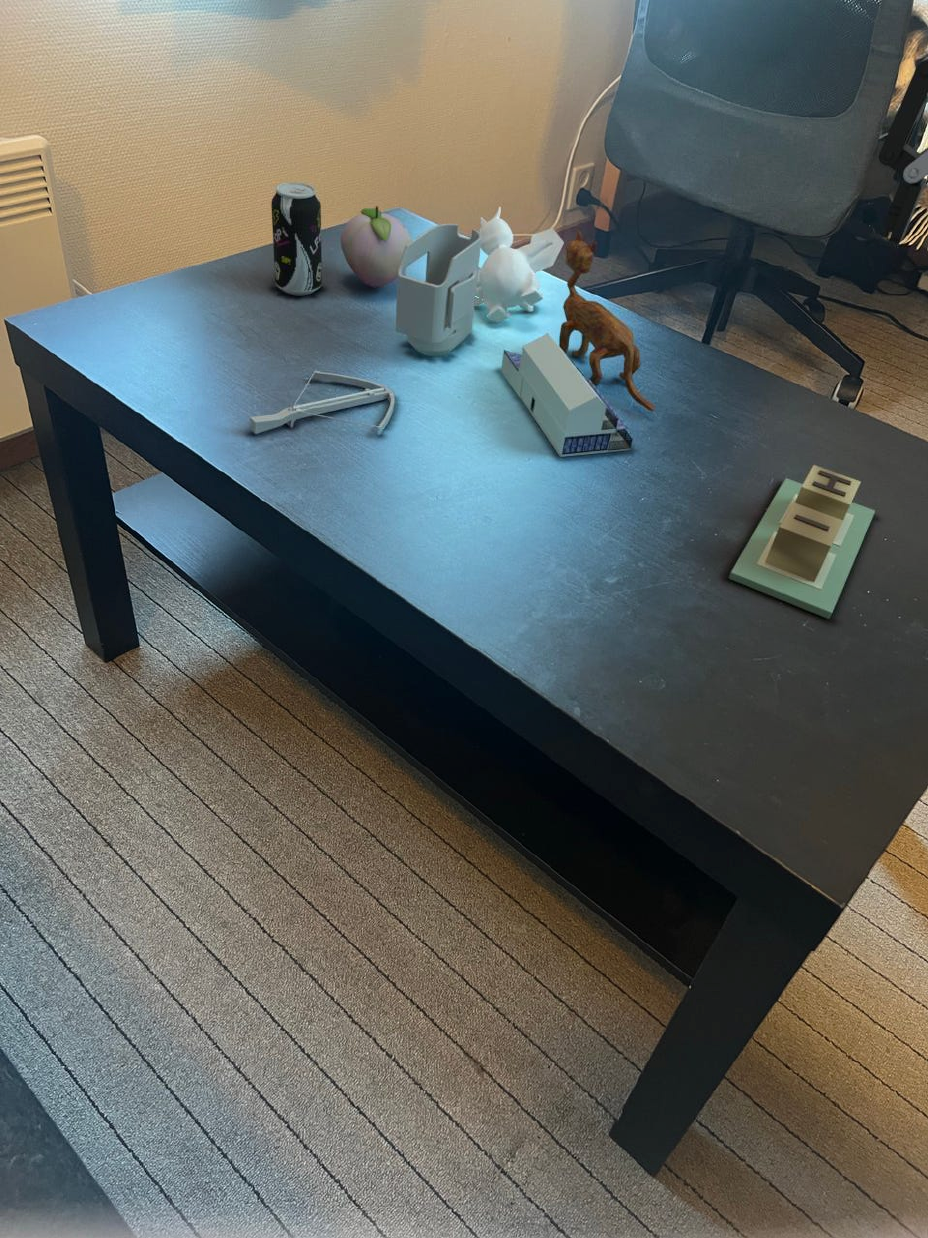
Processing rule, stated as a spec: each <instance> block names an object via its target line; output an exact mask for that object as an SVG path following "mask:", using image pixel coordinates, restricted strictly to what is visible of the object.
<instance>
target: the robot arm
mask: <svg viewBox="0 0 928 1238" xmlns="http://www.w3.org/2000/svg"><path fill="white" fill-rule="evenodd" d="M927 103H928V55H927V56H926V57H925V58H924V59H922V61H920V62H919V63H918V64H917V66H916V67H915V70H914V72H913V74H912V77H911V79H910V81H909V83H908V86H907V88H906V91H905V93H904V95H903V98H902V100H901V102H900V105H899V107H898V109H897V111H896V114H895V116H894V118H893V121H892V123H891V125H890V128H889V130H888V132H887V135H886V137H885V140H884V141H883V144H882V146H881V149H880V151H879V154H878V160H879V162H880V164H881V165H883V166H886V167H889V168H891V169H892V170H893V171H895V172H896V173H897V174H898V177H899V184H898V186H897V188H896V189H897V190H896V193H895V194H894V197H893V200H892V202H891V204H890V205H891V206H890V207H889V210H888V213H887V215H886V218H885V220H884V231H886V232H889V233H891V234H890V237H889V239H888V242H889V243H893V244H897V245H900V244H901V242H902V241H903V239H904V237H905V236H906V233H907V230H908V228H909V226H910V223H911V220H912V218H913V215H914V214H915V211H916V208H917V207H918V203H919V200H920V198H921V196H922V194H923V192H924V189H925V186H926V184H927V182H928V178H925V177H927V176H928V146H927V147H926V148H925V149H923V150H922V151H921V152H919V151H918V150H916V149H915V148H913V147H912V146H911V145H909V143H910V141H911V139H912V136H913V134H914V132H915V129H916V128H917V125H918V123H919V120H920V118H921V116H922V114H923V111H924V110H925V108H926V105H927Z"/></svg>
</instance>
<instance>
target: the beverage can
mask: <svg viewBox="0 0 928 1238" xmlns="http://www.w3.org/2000/svg"><path fill="white" fill-rule="evenodd" d="M270 204H271V208H270V209H271V222H272V223H271V226H272V228H271V229H272V245H273V247H272V248H273V265H274V268H273V269H274V283H275V285H276V287H277V288H279V290H282V291H283V292H284V293H286V294H287V295H292V296H301V297H302V296H308V295H312V294H313V293H314V292H316V291H318V290H319V289H320V288H321V287H322V284H323V280H322V279H323V269H322V268H323V266H322V265H323V264H322V260H323V259H322V204H321V201H320V199H319V198H318V196H317V194H316V188H315V187H314V186H312V185H311V184H309V183H303V182H295V181H293V182H291V181H290V182H283V183H279V184H278V185H276V187H275V194H274V195H273V197H272V199H271V203H270Z"/></svg>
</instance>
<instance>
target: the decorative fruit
mask: <svg viewBox="0 0 928 1238" xmlns="http://www.w3.org/2000/svg"><path fill="white" fill-rule="evenodd" d="M411 241H412V237H411V235H410V232H409V231H408V229H407V228H406V226H405V225H404V224H403V223H402V222H401V221H400V220H399V219H397V218H396V217H394V216H393V215H390V214H387V213H384V212H382V211H381V210H379V206H378V205H375V208H373V207H370V208H368V207H364V208H362V209H361V210H360V213H359V214H357V215H355V216H354V217H352V218H351V219H349V220H348V221H347V223H346V224H345V225H344V227H343V230H342V232H341V234H340V246H341V250H342V254H343V256H344V258H345V261H346V263H347V265H348V267H349V268H350V270H351V271H352V272H353V273H354V275H355V276H356V277H357V278H359V279H360V280H361V281H362V282H363V283H364V284H365V285H367V286H369V287H371V288H373V289H376V288H380V287H384V286H387V285H390V284H392V283H394V282H395V281H397V280H398V269H399V265H400V262H401V258H402V255H403V252H404V248H405V245H406V244H408V243H409V242H411Z"/></svg>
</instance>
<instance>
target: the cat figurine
mask: <svg viewBox="0 0 928 1238" xmlns="http://www.w3.org/2000/svg"><path fill="white" fill-rule="evenodd" d="M597 245H598V241H597V240H595V241H593V242H592V243H590V244H587V243H586V242H584V241H583V236H582V233H581V231H580V230H578V231H577V232H576V237H575V239H574V240H572V241H569V242H568V243H567V244H566V247H565V264H566V266H567V267H568V268H569V269H571V270H572V271H573V274H571V275H570V277H569V278H568V280H567V283H566V286H567V288H568V291H569V295H568V296H567V297H566V299H565V300H564V302H563V306H562V308H563V312H564V316H565V320H566V321H564V322H562V323H561V326H560V331H559V336H558V337H559V338H558V339H559V341H558V345H559V347H560V348H561V349H562V350H563V351H564V352H565V354H566V355H568V352H569V347H570V338H571V335H572V333H573V332H575V331H576V332H579V333H580V334H581V342H580V346H579V348H578V349H577V350H572V351H571V355H572V356H574V357H577V358H579V357H584V356H585V355H586V354H587V353H588V350H589V347H590V344H591V345H592V346H593V348H594V349H593V350H591V351H590V353H589V356H588V365H589V367H590V370H591V373H592V374H591V376H589V377H588V379H587V380H590V381H591V382H592V383H593V385H594V386H595V387H597V386H598V385H599V384H600V383H601V382H602V379H603V374H602V369H601V360H604V359H611V358H615V357H619V356H622V355H623V358H624V360H623V361H624V362H623V371H621V372H619V373H618V376H619V378H620V379H621V380H622V381H624V384H625V387H626V390H627V392H628V394H629V395H630V397H631V398H632V399H633V400H634V401H635V402H637V403H638V404H639V405H640V406H642V407H644V408H645V409H646V410H648V411H651V412H654V411H655V410H656V407H655V406H654V405H653V403H651V402H650V401H649V400H647V399H646V398H645V397H643V396H642V395H641V393H640V392H639V391H638V389H637V388H636V386H635V383H634V380H633V375H634V374H635V373H636V372H637V371H638V370H639V369H640V367H641V365H642V362H641V355H640V348H639V347H638V346H637V345H636V344H635V337H634V333H633V331H632V329H631V328H630V327H629V326H628V325H627V324H625V323H624V322H623V321H622V320H621V319H619V318H618V317H617V316H616V315H615V314H613V313H612V312H611V311H610V310H609V309H607V307H606V306H604V305H603V304H601V303H599V302H598V301H594V300H587V299H586V298H584V297H583V296H582V295H581V294H579V292H578V291H577V289H576V283H577V282H578V280H579V278H580V276H581V275H583V274H588V273H589V272H590V270H591V267H592V264H593V257H594V253H595V252H596V249H597Z"/></svg>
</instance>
